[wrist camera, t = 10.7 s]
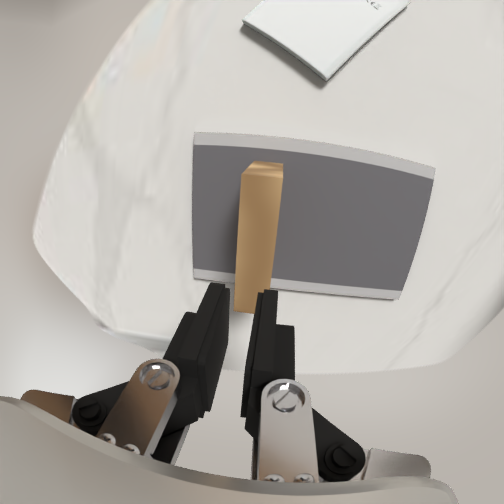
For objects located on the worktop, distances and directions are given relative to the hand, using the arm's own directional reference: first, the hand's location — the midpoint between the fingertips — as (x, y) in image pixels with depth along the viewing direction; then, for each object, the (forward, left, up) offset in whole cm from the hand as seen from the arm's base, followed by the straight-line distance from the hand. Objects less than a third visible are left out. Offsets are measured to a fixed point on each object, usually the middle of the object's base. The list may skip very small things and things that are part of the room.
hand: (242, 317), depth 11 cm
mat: (-4, 0, -13) cm, 14 cm away
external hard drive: (-4, -19, -14) cm, 24 cm away
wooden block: (0, 0, -13) cm, 13 cm away
